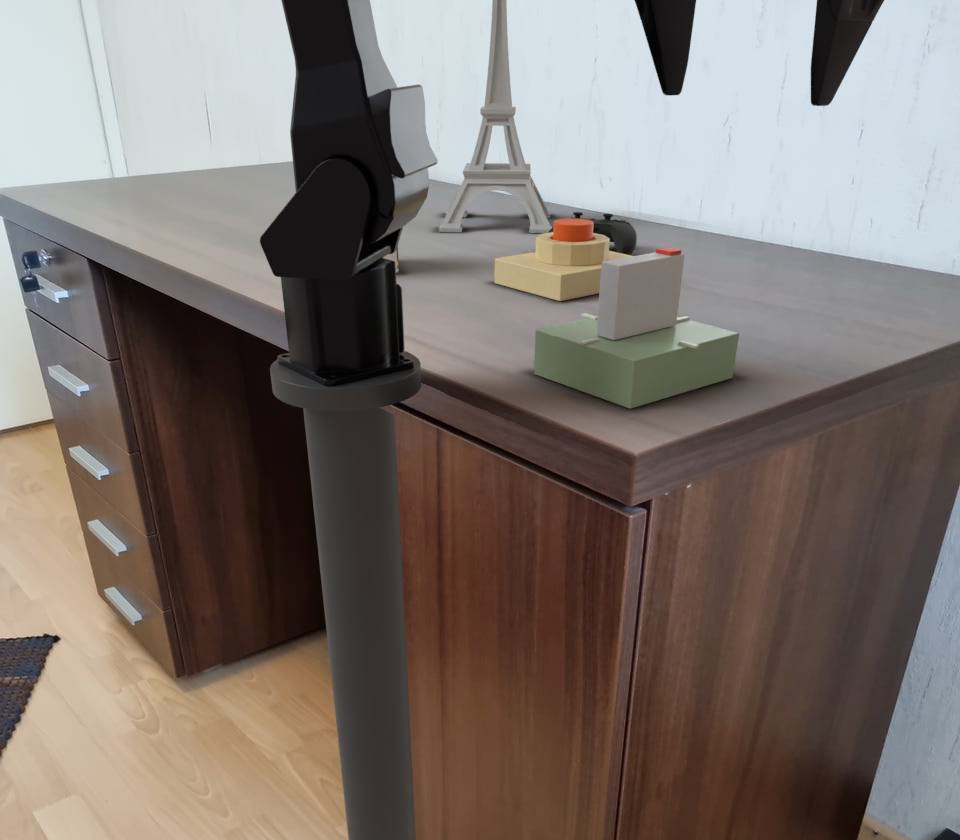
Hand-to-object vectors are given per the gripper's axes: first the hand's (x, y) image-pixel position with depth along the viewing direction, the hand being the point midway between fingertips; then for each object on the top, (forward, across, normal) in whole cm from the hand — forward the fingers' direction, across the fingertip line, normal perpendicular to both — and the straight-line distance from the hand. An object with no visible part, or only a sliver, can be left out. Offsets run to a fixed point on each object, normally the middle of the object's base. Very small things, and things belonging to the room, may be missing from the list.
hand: (741, 99), depth 46 cm
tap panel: (+17, +8, -4) cm, 19 cm away
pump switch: (+17, +32, -19) cm, 41 cm away
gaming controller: (+17, +42, -32) cm, 55 cm away
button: (+13, +32, -19) cm, 39 cm away
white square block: (+14, +8, -3) cm, 16 cm away
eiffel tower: (+17, +62, -35) cm, 73 cm away
